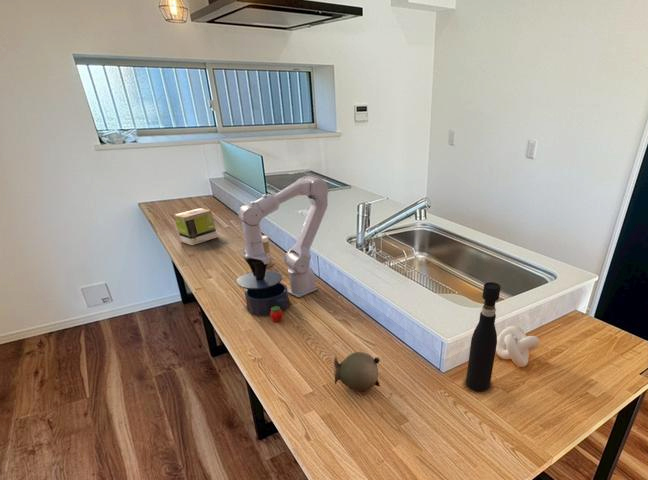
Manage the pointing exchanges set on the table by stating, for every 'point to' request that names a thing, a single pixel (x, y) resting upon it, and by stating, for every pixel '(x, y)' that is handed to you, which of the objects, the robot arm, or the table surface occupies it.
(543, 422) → the table surface
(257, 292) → the pot
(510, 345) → the white decorative knot
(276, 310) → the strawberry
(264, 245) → the sprinkles bottle
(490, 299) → the black bottle
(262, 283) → the lid
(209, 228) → the tea box
